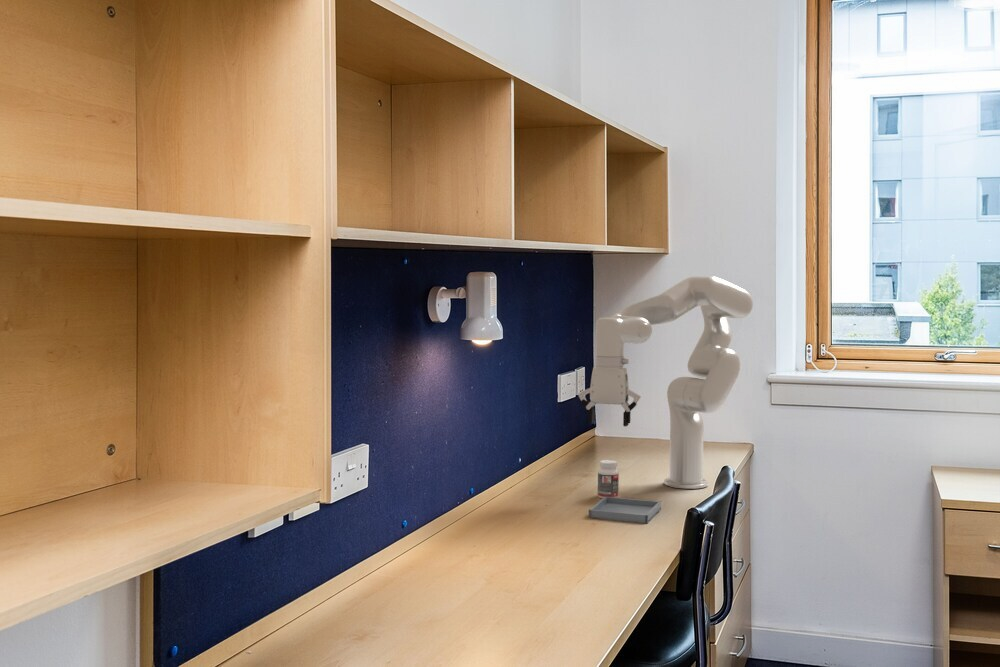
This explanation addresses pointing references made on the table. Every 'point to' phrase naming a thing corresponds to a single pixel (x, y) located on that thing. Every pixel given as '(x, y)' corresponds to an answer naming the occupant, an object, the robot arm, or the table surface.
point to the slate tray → (625, 509)
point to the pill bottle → (608, 479)
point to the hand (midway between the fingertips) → (608, 424)
